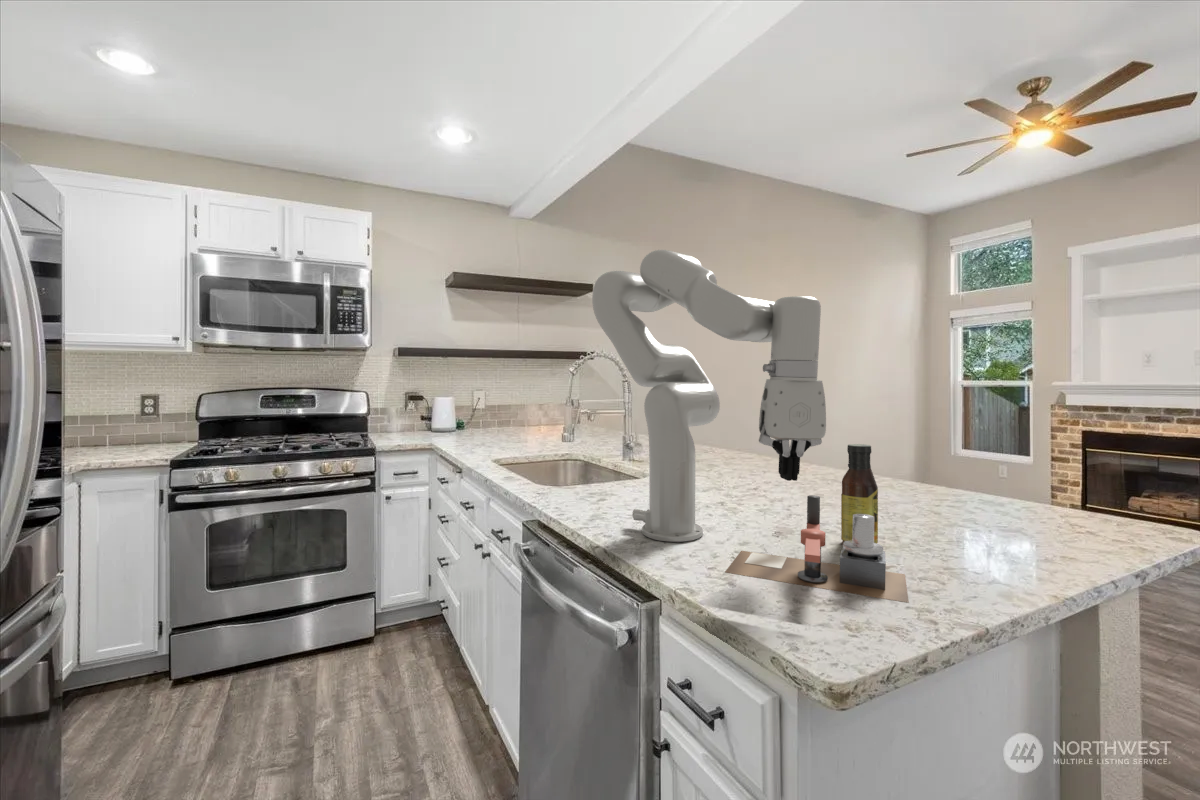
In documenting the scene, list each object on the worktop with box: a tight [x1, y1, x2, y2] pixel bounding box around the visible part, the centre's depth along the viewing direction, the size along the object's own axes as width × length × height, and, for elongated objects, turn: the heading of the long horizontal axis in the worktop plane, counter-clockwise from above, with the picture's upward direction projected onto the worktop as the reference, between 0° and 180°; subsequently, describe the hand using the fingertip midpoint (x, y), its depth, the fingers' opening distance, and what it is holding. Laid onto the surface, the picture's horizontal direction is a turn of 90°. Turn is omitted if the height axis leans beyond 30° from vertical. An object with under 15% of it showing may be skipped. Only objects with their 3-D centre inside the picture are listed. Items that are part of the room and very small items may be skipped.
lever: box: [800, 494, 826, 563], centre depth 83 cm, size 18×4×6 cm, turn 158°
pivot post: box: [798, 547, 828, 584], centre depth 84 cm, size 4×4×5 cm
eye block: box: [839, 545, 887, 590], centre depth 83 cm, size 6×6×4 cm
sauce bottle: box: [840, 443, 879, 545], centre depth 100 cm, size 6×6×20 cm
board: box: [724, 550, 910, 604], centre depth 86 cm, size 26×12×1 cm, turn 63°
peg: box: [842, 514, 884, 560], centre depth 83 cm, size 6×6×10 cm
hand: (788, 478), depth 91 cm, fingers closed
